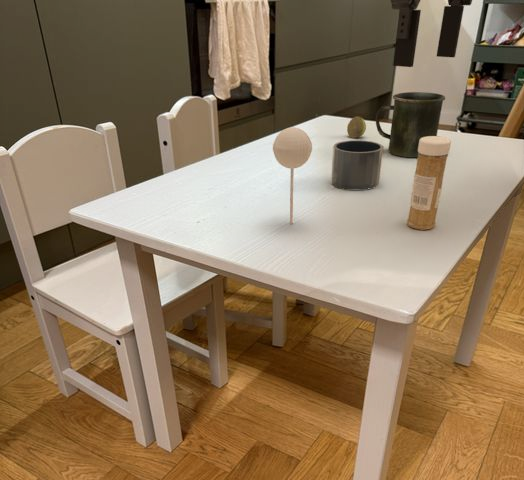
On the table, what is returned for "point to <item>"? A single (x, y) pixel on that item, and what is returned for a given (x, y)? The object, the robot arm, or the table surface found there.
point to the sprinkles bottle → (428, 181)
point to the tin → (356, 164)
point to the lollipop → (292, 153)
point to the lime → (356, 127)
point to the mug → (411, 121)
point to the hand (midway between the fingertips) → (425, 61)
